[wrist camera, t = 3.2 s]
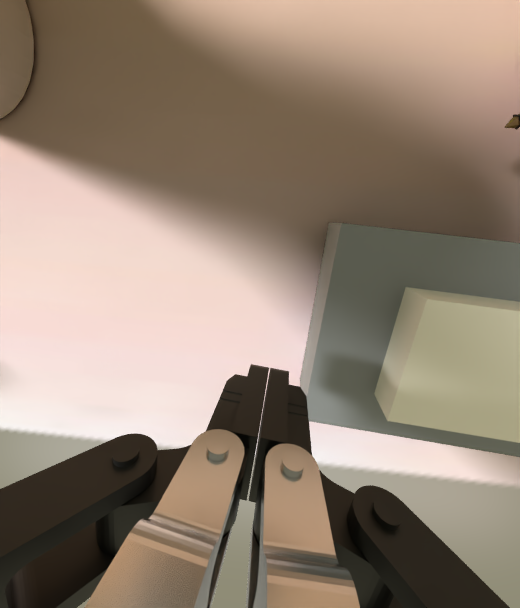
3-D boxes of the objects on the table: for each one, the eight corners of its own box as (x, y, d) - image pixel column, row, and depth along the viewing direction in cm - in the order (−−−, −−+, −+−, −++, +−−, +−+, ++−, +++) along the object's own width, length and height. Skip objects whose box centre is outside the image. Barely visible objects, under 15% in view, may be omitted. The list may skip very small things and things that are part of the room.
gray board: (328, 222, 15) (341, 222, 12) (582, 251, 14) (687, 262, 11) (299, 380, 19) (302, 419, 15) (503, 412, 18) (560, 463, 14)
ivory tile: (405, 287, 12) (427, 299, 10) (614, 314, 11) (679, 332, 10) (374, 393, 14) (387, 420, 12) (552, 422, 13) (595, 455, 11)
